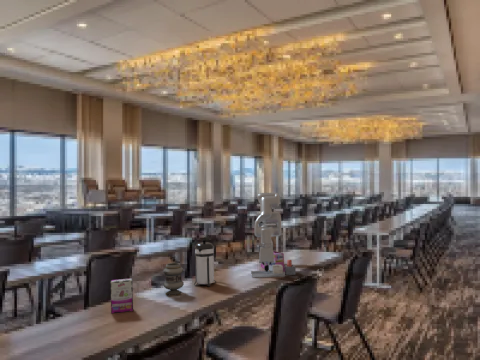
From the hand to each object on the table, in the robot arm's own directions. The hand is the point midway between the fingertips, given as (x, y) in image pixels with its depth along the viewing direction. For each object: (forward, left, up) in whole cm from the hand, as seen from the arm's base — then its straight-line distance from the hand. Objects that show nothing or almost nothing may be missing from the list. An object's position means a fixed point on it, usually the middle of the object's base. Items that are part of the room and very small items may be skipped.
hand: (266, 271), depth 282 cm
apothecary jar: (+40, -61, -3) cm, 73 cm away
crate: (0, +8, -3) cm, 8 cm away
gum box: (-20, +6, -3) cm, 21 cm away
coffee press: (+19, -43, -3) cm, 47 cm away
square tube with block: (-5, +17, -3) cm, 18 cm away
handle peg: (-3, +17, -3) cm, 18 cm away
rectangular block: (0, +1, -3) cm, 3 cm away
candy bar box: (+71, -84, -3) cm, 110 cm away
